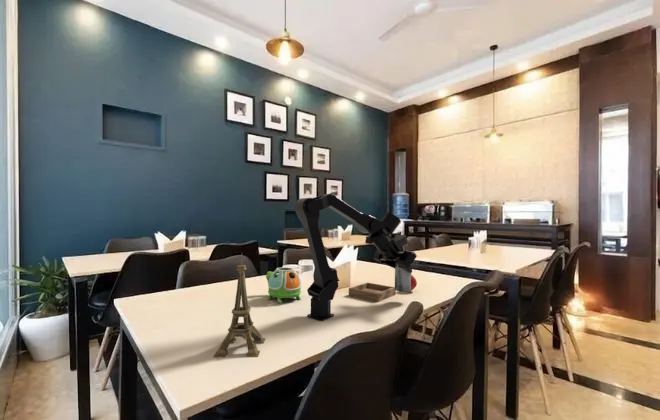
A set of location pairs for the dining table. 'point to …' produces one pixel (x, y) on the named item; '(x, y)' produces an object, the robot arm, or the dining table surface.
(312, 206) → the robot arm
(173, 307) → the dining table surface
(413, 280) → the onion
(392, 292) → the tray
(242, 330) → the eiffel tower
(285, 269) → the turtle holder
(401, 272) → the tin
